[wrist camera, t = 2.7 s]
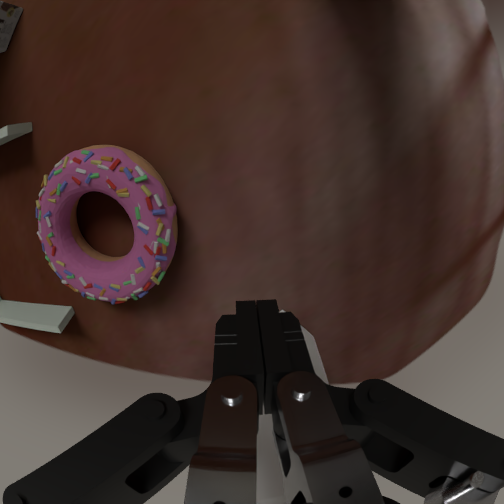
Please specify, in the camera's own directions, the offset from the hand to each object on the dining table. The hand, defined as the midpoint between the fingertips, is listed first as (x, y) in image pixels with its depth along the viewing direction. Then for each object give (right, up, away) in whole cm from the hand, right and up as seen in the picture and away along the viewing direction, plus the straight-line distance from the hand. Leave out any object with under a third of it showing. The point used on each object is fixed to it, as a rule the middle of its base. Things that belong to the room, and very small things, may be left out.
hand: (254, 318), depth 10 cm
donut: (-13, +6, +13) cm, 20 cm away
